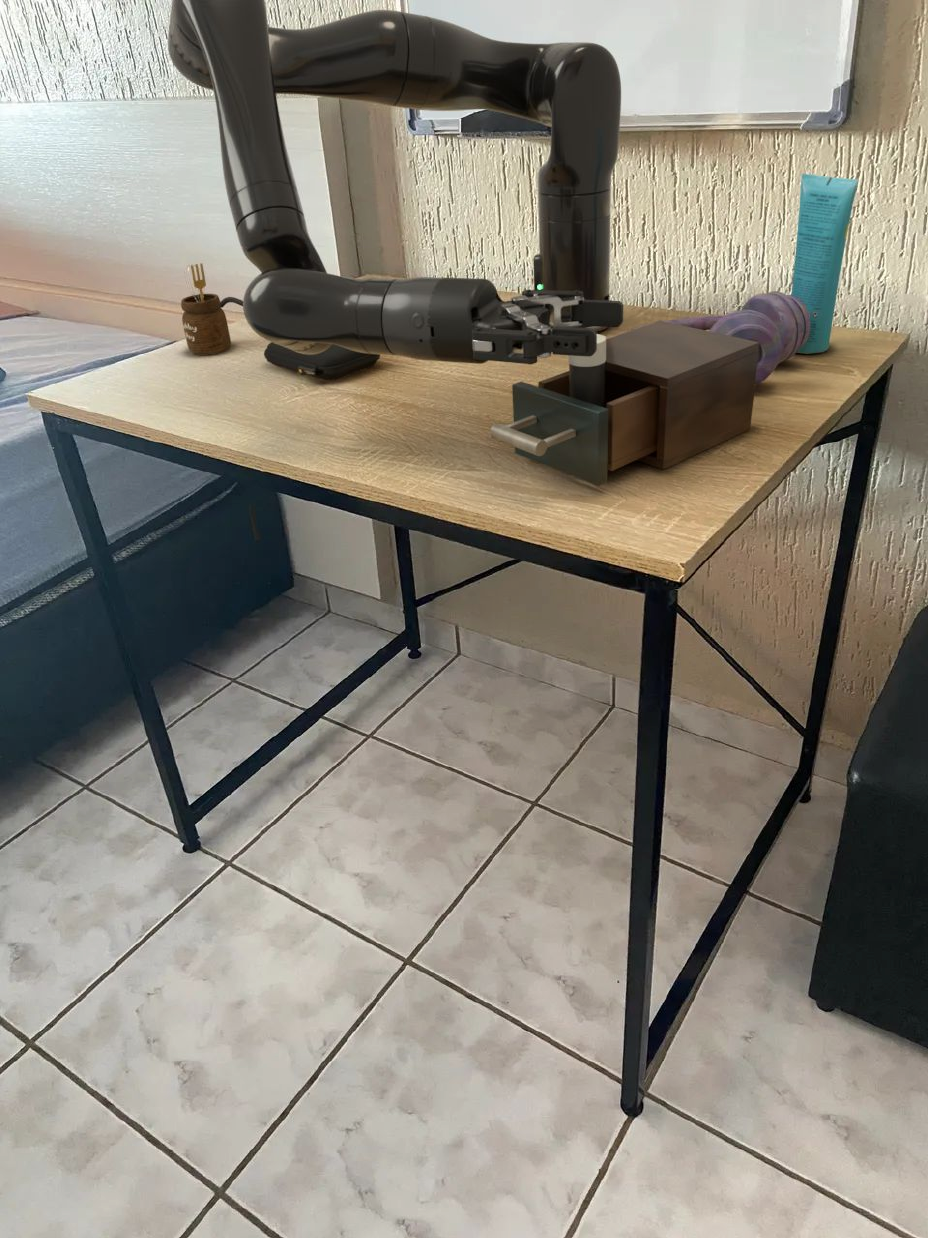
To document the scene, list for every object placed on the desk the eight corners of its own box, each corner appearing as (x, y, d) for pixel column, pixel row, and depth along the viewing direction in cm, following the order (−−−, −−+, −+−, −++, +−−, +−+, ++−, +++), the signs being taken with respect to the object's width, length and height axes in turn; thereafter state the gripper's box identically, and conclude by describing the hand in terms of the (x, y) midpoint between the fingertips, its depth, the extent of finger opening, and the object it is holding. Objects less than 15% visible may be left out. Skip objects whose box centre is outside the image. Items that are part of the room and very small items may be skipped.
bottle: (562, 448, 89) (561, 342, 83) (577, 435, 91) (577, 331, 86) (596, 453, 87) (597, 346, 82) (610, 440, 90) (612, 334, 84)
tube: (845, 349, 113) (871, 175, 103) (821, 359, 111) (846, 181, 100) (791, 338, 118) (811, 170, 108) (768, 347, 116) (786, 177, 105)
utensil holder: (226, 340, 135) (208, 252, 128) (237, 351, 130) (219, 260, 123) (185, 348, 133) (164, 259, 126) (194, 359, 128) (173, 267, 121)
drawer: (557, 505, 81) (555, 429, 78) (474, 469, 89) (469, 399, 85) (686, 446, 90) (690, 375, 86) (601, 418, 97) (602, 352, 94)
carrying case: (252, 367, 123) (322, 389, 114) (248, 344, 121) (319, 364, 112) (317, 346, 129) (388, 365, 120) (313, 324, 127) (385, 341, 118)
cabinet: (663, 469, 88) (668, 378, 83) (570, 436, 96) (569, 351, 92) (750, 429, 95) (759, 342, 90) (656, 401, 103) (660, 320, 98)
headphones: (822, 350, 111) (666, 356, 123) (820, 278, 108) (660, 291, 119) (766, 400, 99) (599, 401, 111) (762, 321, 95) (589, 330, 107)
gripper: (473, 337, 96) (629, 345, 90) (412, 384, 85) (585, 397, 79) (468, 260, 92) (631, 263, 86) (404, 299, 81) (585, 306, 75)
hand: (609, 327), depth 83 cm, fingers open, 8 cm apart
